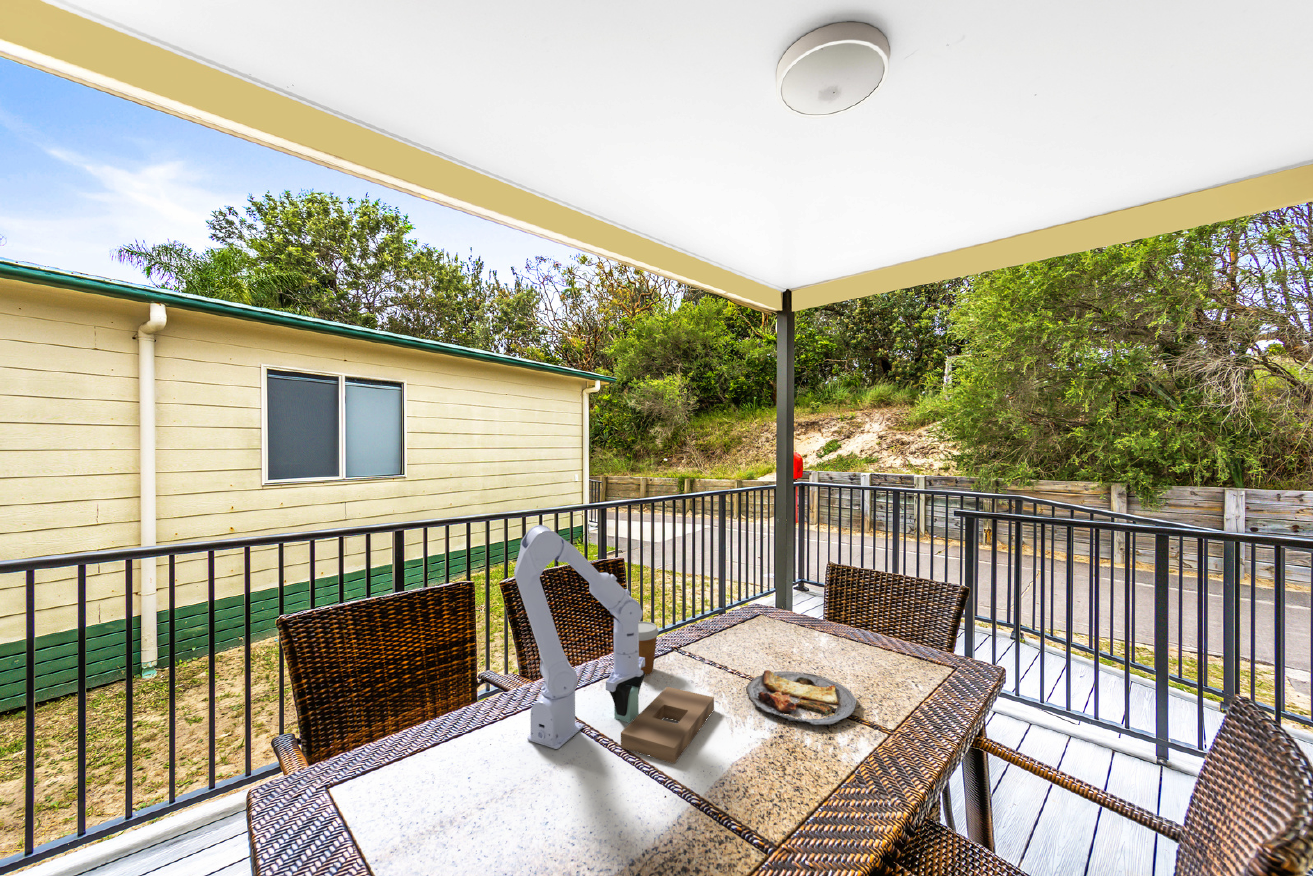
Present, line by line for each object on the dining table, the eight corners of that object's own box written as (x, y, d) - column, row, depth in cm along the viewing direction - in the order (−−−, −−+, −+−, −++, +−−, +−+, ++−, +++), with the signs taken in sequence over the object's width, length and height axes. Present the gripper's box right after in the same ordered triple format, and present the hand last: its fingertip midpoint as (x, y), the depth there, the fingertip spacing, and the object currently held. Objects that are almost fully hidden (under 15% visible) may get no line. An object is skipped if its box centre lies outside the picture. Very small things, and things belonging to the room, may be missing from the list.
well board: (674, 763, 96) (674, 748, 96) (620, 747, 102) (620, 732, 102) (714, 710, 116) (713, 697, 116) (667, 699, 121) (667, 686, 121)
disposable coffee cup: (644, 682, 130) (644, 635, 131) (616, 672, 136) (616, 628, 136) (665, 669, 138) (665, 625, 138) (639, 660, 144) (638, 618, 144)
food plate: (733, 711, 116) (733, 695, 116) (761, 672, 136) (762, 659, 136) (848, 743, 104) (849, 725, 104) (860, 695, 124) (860, 681, 125)
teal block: (629, 722, 111) (629, 695, 111) (614, 718, 113) (614, 691, 113) (638, 714, 115) (638, 687, 115) (623, 710, 116) (623, 684, 117)
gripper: (625, 665, 106) (625, 730, 106) (656, 641, 119) (656, 699, 119) (597, 659, 109) (597, 722, 109) (630, 636, 122) (630, 693, 122)
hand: (626, 709), depth 114 cm, fingers closed on teal block, 4 cm apart
